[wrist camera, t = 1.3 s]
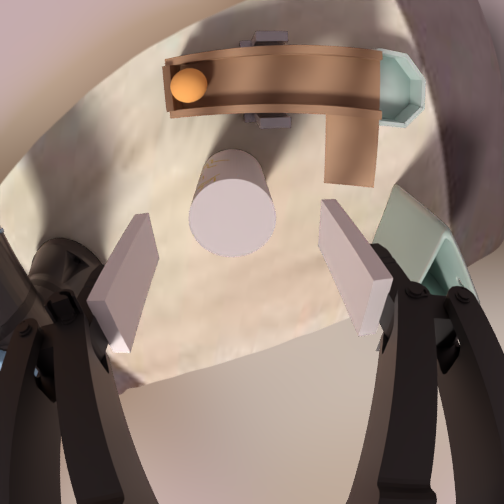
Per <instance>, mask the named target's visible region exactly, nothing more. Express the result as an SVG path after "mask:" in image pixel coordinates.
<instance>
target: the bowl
mask: <svg viewBox="0 0 504 504" xmlns="http://www.w3.org/2000/svg"><path fill="white" fill-rule="evenodd" d="M370 50H377V51H382V55H383V60H381V61H380V110H381V111H382V120H379V125H381V126H392V127H401V128H406V127H407V126H408V125H409V124H410V123H411V122H412V121H413V120H414V119H415V118H416V117H417V116H418V115H419V114H420V113H421V112H422V111H423V110H424V109H425V87H426V80H425V78H424V76H423V75H422V73H421V72H420V71H419V69H418V68H417V66H416V65H415V64H414V62H413V61H412V60H411V58H410V57H409V56H408V54H405V53H401V52H397V51H392V50H387V49H382V48H375V49H370Z"/></svg>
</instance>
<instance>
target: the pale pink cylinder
mask: <svg viewBox="0 0 504 504" xmlns="http://www.w3.org/2000/svg"><path fill="white" fill-rule="evenodd" d="M275 224H276V211H275V207H274V204H273V201H272V198H271V195H270V192H269V189H268V186H267V183H266V180H265V177H264V174H263V171H262V168H261V166H260V164H259V162H258V161H257V160H256V159H255V158H254V157H253V156H252V155H250V154H249V153H247V152H245V151H242V150H238V149H227V150H223V151H220V152H218V153H216V154H214V155H213V156H211V157H210V158H209V159H208V160H207V162H206V163H205V165H204V167H203V169H202V172H201V175H200V178H199V181H198V184H197V188H196V191H195V194H194V197H193V201H192V204H191V207H190V211H189V226H190V229H191V232H192V234H193V236H194V238H195V239H196V241H197V242H198V243H199V244H200V245H201V246H202V247H203V248H205V249H206V250H208V251H210V252H211V253H214V254H216V255H219V256H224V257H240V256H245V255H248V254H251V253H253V252H255V251H257V250H258V249H260V248H261V247H262V246H263V245H264V244H265V243H266V242H267V241H268V240H269V239H270V237H271V235H272V233H273V231H274V228H275Z"/></svg>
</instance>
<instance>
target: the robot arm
mask: <svg viewBox="0 0 504 504" xmlns="http://www.w3.org/2000/svg"><path fill="white" fill-rule="evenodd" d="M3 232H4V229H3V228H1V227H0V504H61V493H60V443H61V437H62V444H63V449H64V454H65V459H66V463H67V468H68V472H69V476H70V480H71V484H72V487H73V491H74V495H75V498H76V502H77V504H159V503H158V502H157V499H156V497H155V495H154V493H153V491H152V489H151V486H150V484H149V481H148V479H147V477H146V474H145V472H144V470H143V467H142V465H141V462H140V460H139V457H138V454H137V452H136V449H135V446H134V443H133V440H132V438H131V435H130V432H129V429H128V426H127V422H126V419H125V416H124V413H123V409H122V406H121V403H120V399H119V395H118V392H117V388H116V384H115V380H114V376H113V372H112V368H111V364H110V359H109V357H108V355H107V353H106V348H107V345H108V344H109V345H110V347H111V349H112V351H113V352H115V353H131V349H132V345H133V342H134V338H135V335H136V331H137V327H138V324H139V320H140V317H141V314H142V310H143V307H144V304H145V300H146V297H147V294H148V291H149V288H150V284H151V281H152V278H153V275H154V272H155V269H156V266H157V263H158V260H159V255H158V251H157V247H156V242H155V238H154V234H153V230H152V226H151V221H150V217H149V213H144V214H135V215H134V217H133V219H132V220H131V222H130V223H129V225H128V227H127V228H126V230H125V232H124V233H123V235H122V237H121V238H120V240H119V242H118V243H117V245H116V247H115V248H114V250H113V252H112V254H111V255H110V257H109V259H108V261H107V263H106V264H105V265H102V264H101V263H100V261H99V260H98V259H97V258H96V257H95V255H94V254H93V253H92V252H90V251H89V250H88V249H87V248H85V247H84V246H82V245H81V244H79V243H77V242H75V241H72V240H69V239H64V238H55V239H51V240H49V241H47V242H45V243H44V244H43V245H42V246H41V247H40V249H39V250H38V251H37V252H36V254H35V256H34V258H33V261H32V265H31V269H30V272H29V275H28V276H27V274H26V272H25V271H24V269H23V267H22V266H21V264H20V262H19V260H18V259H17V257H16V255H15V253H14V252H13V250H12V248H11V246H10V244H9V242H8V240H7V238H6V237H5V235H4V233H3ZM318 247H319V249H320V251H321V253H322V255H323V257H324V259H325V262H326V264H327V266H328V268H329V270H330V272H331V275H332V277H333V279H334V281H335V283H336V286H337V288H338V290H339V292H340V295H341V297H342V299H343V302H344V304H345V306H346V309H347V311H348V313H349V316H350V318H351V320H352V323H353V325H354V327H355V330H356V332H357V335H358V336H364V335H370V334H375V333H376V331H377V328H378V325H379V323H380V325H381V327H382V329H383V331H384V332H383V334H382V336H381V339H380V342H379V344H378V347H377V350H376V351H379V349H380V351H379V359H378V368H377V374H376V382H375V388H374V394H373V400H372V406H371V411H370V416H369V421H368V426H367V431H366V435H365V440H364V444H363V448H362V452H361V456H360V461H359V464H358V468H357V471H356V475H355V479H354V482H353V485H352V489H351V492H350V495H349V498H348V500H347V502H346V504H436V502H437V498H436V493H435V492H434V491H433V490H432V489H431V487H430V479H431V473H432V465H433V457H434V449H435V437H436V423H437V394H438V390H437V389H438V388H439V393H440V397H441V401H442V406H443V410H444V415H445V419H446V425H447V430H448V436H449V442H450V448H451V455H452V463H453V470H454V481H455V491H456V504H504V353H503V351H502V349H501V346H500V344H499V342H498V340H497V337H496V335H495V333H494V331H493V329H492V327H491V325H490V323H489V321H488V319H487V317H486V315H485V313H484V311H483V310H482V308H481V306H480V304H479V302H478V300H477V298H476V297H475V295H474V294H473V293H472V292H471V291H470V290H468V289H467V288H464V287H462V286H453V287H451V288H450V289H449V291H448V293H447V296H442V295H432V294H430V292H429V290H428V289H427V288H426V287H425V286H424V285H422V284H420V283H418V282H414V281H410V279H409V278H408V277H407V275H406V274H405V273H404V271H403V270H402V268H401V267H400V266H399V264H398V263H396V260H395V259H394V258H392V255H391V254H390V252H389V251H388V250H387V249H386V248H385V247H383V246H382V245H380V244H379V243H374V244H369V243H368V241H367V240H366V238H365V237H364V236H363V234H362V233H361V232H360V230H359V229H358V228H357V226H356V225H355V224H354V222H353V221H352V220H351V218H350V217H349V216H348V215H347V213H346V212H345V211H344V209H343V208H342V207H341V206H340V204H339V203H338V202H337V200H336V199H325V200H321V213H320V228H319V241H318ZM458 340H459V342H460V345H459V343H458Z"/></svg>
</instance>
